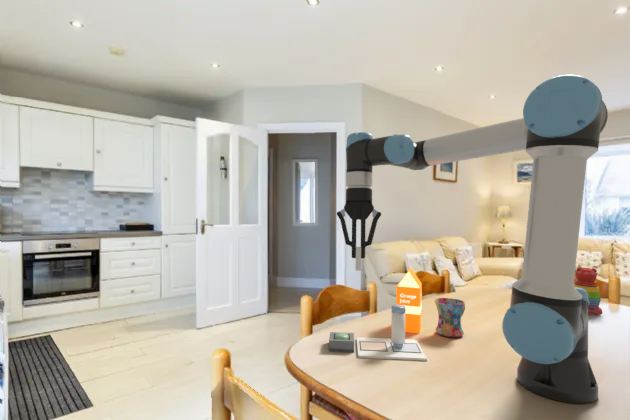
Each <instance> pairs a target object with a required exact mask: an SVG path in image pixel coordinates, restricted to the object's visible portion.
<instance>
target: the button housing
mask: <svg viewBox="0 0 630 420" xmlns="http://www.w3.org/2000/svg"><path fill="white" fill-rule="evenodd" d="M337 333H341V332H339V331H338V332H337V331H335V332H334V331H330V332H329V340H328V352H336V351H338V352H337V353H339V352H340V353H355V333H354V332H344V333H345V334H348V335H349V340H343V339H335V334H337Z"/></svg>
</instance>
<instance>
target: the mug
mask: <svg viewBox="0 0 630 420" xmlns="http://www.w3.org/2000/svg"><path fill="white" fill-rule="evenodd" d="M434 303H435V305H436V306H435V307H436V309H437V313H438V320H437V321H438V322H437V326H436V327H435V332H436V333H438V334H439V335H441V336H445V337H449V338H450V337H451V338H460V337H463V335H465V334H464V331H463V327H462V316H463V315H464V313H465V309H466V306H465V305H466V302H465V301H464V300H461V299H457V298H453V297H452V298H451V297H450V298H449V297H438V298H435V299H434Z"/></svg>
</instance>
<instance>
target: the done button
mask: <svg viewBox="0 0 630 420" xmlns="http://www.w3.org/2000/svg"><path fill="white" fill-rule="evenodd" d="M345 333H346V332H340V333H337V334H335V339H343V340H349V335H348V334H345Z"/></svg>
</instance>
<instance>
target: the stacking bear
mask: <svg viewBox="0 0 630 420" xmlns="http://www.w3.org/2000/svg"><path fill="white" fill-rule="evenodd" d="M575 277H576V279H577V280H575V281H574V287H578V288H582V289H585V290H586V291H587V293H588V300H589V302H590V304H589V305H588V315H591V314H597V315H601V314H602V313H603V309H602V308H601V307H600V303H601V301H602V300H601V299H602V298H601V297H602V294H601V292H600V287H599V286H598V284H597V283H596V280H597V269H596V268H593V267H592V268H591V267H581V266H578V267H576V270H575Z"/></svg>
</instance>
